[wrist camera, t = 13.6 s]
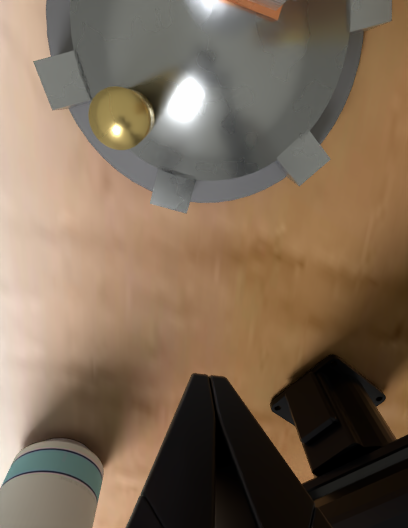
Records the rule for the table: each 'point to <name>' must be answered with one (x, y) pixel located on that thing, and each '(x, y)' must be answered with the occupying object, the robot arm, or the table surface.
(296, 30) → the sprocket
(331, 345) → the table surface
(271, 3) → the link block
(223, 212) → the table surface
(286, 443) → the table surface
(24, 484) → the beverage can
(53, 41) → the sprocket base
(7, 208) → the table surface
